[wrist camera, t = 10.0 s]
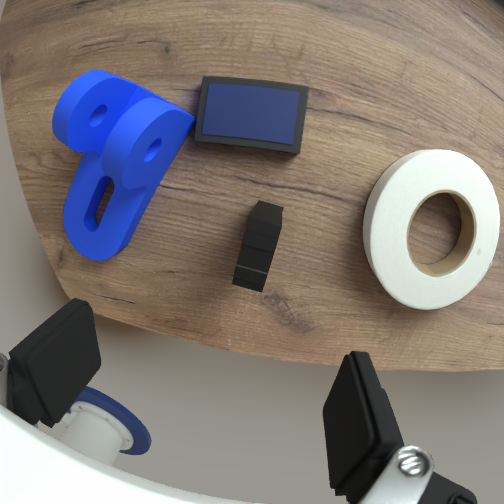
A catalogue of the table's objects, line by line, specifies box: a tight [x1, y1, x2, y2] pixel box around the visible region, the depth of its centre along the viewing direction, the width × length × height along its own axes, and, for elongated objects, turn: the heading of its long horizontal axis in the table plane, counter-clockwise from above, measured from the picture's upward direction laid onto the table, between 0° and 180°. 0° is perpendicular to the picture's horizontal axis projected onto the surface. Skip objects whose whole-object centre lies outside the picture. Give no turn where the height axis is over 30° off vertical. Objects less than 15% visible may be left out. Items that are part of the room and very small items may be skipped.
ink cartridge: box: [232, 200, 284, 292], centre depth 23 cm, size 5×2×8 cm, turn 165°
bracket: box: [52, 70, 197, 261], centre depth 22 cm, size 18×8×9 cm, turn 145°
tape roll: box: [363, 150, 500, 310], centre depth 23 cm, size 16×15×3 cm
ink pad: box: [194, 76, 309, 154], centre depth 22 cm, size 9×6×2 cm, turn 82°
